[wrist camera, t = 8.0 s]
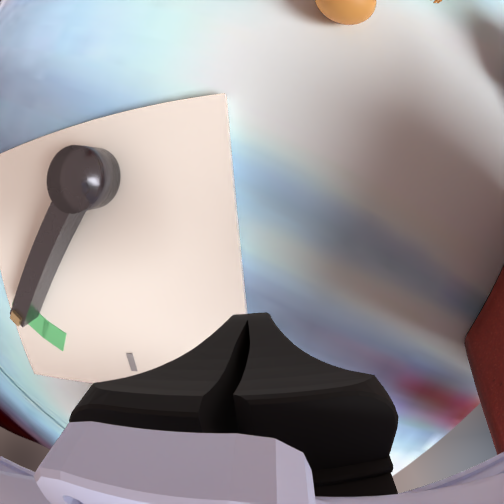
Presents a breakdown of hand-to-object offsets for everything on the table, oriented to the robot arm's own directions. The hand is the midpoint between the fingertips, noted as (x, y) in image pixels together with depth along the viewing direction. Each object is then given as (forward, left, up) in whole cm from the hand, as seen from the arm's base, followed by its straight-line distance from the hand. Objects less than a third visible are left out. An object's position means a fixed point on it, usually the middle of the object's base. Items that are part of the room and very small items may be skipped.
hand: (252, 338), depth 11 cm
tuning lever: (+3, +14, -8) cm, 16 cm away
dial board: (+1, +12, -9) cm, 15 cm away
